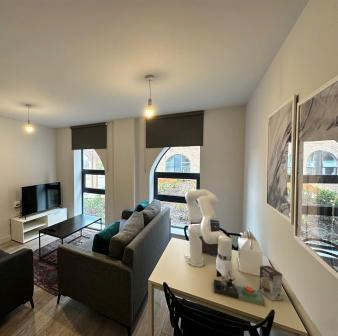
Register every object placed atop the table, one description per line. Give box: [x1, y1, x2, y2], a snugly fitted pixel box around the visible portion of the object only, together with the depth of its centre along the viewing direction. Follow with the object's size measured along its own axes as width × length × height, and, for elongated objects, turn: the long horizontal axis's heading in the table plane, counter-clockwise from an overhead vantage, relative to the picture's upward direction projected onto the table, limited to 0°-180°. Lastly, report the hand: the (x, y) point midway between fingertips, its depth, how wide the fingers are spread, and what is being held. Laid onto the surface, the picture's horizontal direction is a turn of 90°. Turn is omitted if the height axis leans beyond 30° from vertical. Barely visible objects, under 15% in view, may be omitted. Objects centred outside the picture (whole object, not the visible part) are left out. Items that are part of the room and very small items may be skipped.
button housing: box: [235, 285, 265, 306], centre depth 115 cm, size 12×10×4 cm
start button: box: [244, 285, 254, 293], centre depth 114 cm, size 4×4×2 cm
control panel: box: [213, 279, 238, 299], centre depth 120 cm, size 12×10×3 cm
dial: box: [220, 275, 228, 288], centre depth 120 cm, size 4×4×5 cm
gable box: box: [237, 227, 263, 277], centre depth 145 cm, size 22×13×28 cm, turn 149°
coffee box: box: [259, 265, 283, 301], centre depth 115 cm, size 9×6×16 cm
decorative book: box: [189, 219, 221, 258], centre depth 168 cm, size 23×7×30 cm, turn 62°
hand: (223, 281), depth 121 cm, fingers open, 9 cm apart
